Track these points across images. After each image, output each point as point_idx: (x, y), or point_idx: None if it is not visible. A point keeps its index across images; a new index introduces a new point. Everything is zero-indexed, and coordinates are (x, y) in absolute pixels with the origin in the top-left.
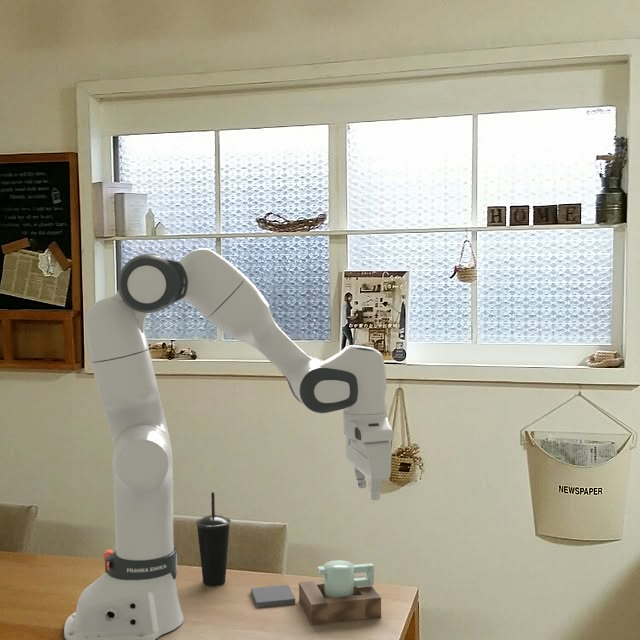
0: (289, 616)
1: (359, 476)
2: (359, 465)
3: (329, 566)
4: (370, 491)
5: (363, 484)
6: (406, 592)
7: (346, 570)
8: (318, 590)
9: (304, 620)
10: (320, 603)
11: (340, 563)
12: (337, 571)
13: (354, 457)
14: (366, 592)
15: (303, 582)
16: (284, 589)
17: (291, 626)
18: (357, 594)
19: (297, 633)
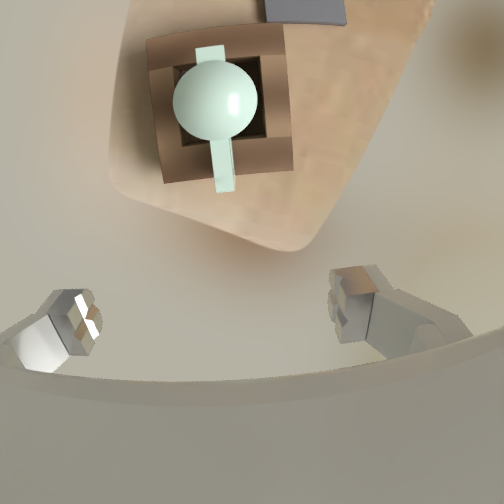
0: (204, 9)
1: (385, 320)
2: (85, 431)
3: (209, 74)
4: (40, 313)
5: (334, 308)
6: (281, 240)
7: (176, 116)
8: None
9: None
10: (148, 57)
11: (229, 106)
12: (175, 92)
13: (357, 481)
14: (193, 157)
15: (279, 31)
16: (321, 11)
17: (158, 14)
18: None
19: (128, 25)
